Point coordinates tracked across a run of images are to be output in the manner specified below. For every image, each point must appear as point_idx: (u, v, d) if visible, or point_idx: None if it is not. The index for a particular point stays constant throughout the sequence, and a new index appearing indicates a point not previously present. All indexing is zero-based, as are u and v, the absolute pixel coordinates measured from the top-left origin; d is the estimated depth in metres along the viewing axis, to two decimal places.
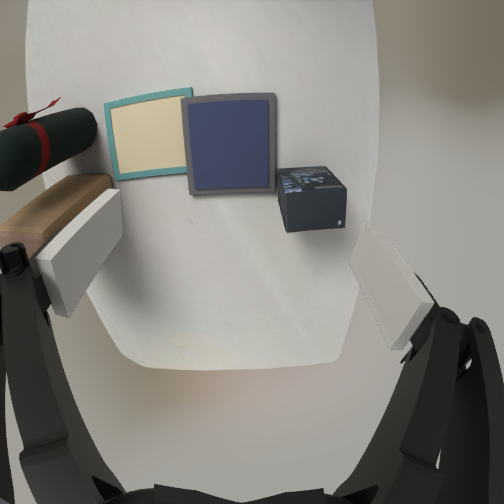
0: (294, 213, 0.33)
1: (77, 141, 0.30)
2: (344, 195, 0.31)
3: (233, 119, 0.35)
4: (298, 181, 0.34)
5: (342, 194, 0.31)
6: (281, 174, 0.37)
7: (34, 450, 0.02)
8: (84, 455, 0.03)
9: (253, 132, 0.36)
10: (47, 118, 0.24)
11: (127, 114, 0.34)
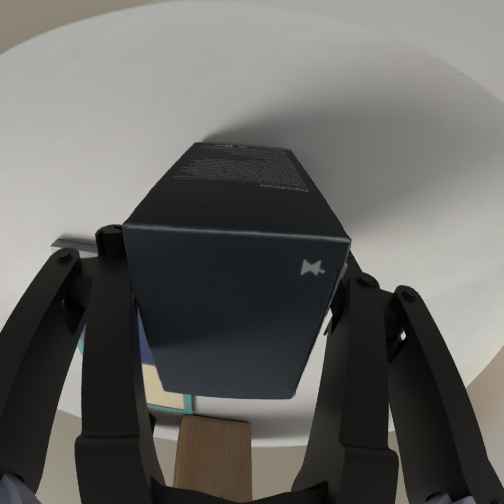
0: (228, 388, 0.09)
1: None
2: (153, 241, 0.06)
3: None
4: None
5: (149, 250, 0.06)
6: None
7: (95, 439, 0.03)
8: (147, 453, 0.04)
9: None
10: None
11: None
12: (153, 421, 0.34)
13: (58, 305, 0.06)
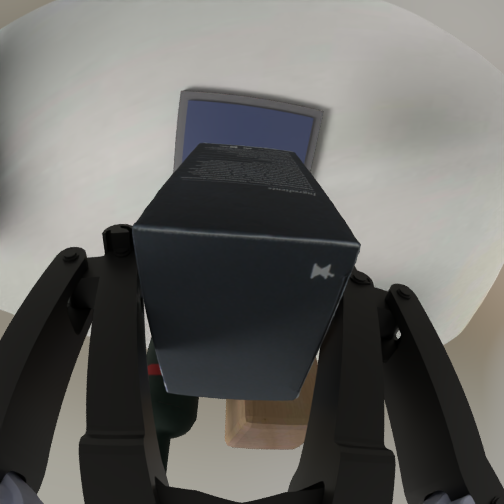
0: (233, 390, 0.09)
1: None
2: (164, 243, 0.06)
3: None
4: None
5: (160, 252, 0.06)
6: None
7: (100, 439, 0.03)
8: (151, 453, 0.04)
9: (232, 123, 0.26)
10: (148, 352, 0.31)
11: None
12: None
13: (64, 304, 0.07)
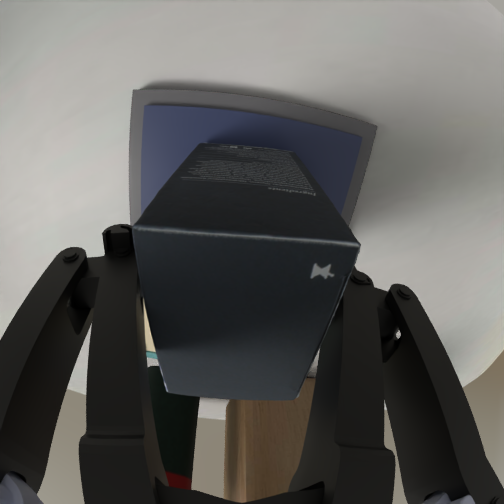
0: (233, 390, 0.09)
1: (172, 414, 0.24)
2: (164, 243, 0.06)
3: None
4: None
5: (160, 253, 0.06)
6: None
7: (100, 440, 0.03)
8: (151, 453, 0.04)
9: (221, 143, 0.15)
10: None
11: None
12: None
13: (64, 304, 0.07)
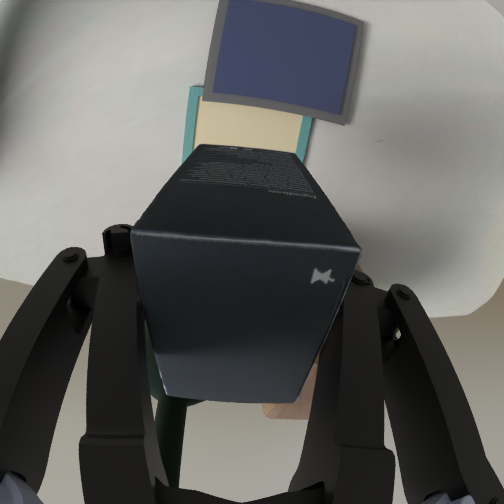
0: (233, 393, 0.09)
1: None
2: (163, 248, 0.06)
3: (250, 39, 0.20)
4: None
5: (158, 257, 0.06)
6: None
7: (100, 439, 0.03)
8: (151, 454, 0.04)
9: (275, 20, 0.19)
10: None
11: None
12: None
13: (64, 304, 0.07)
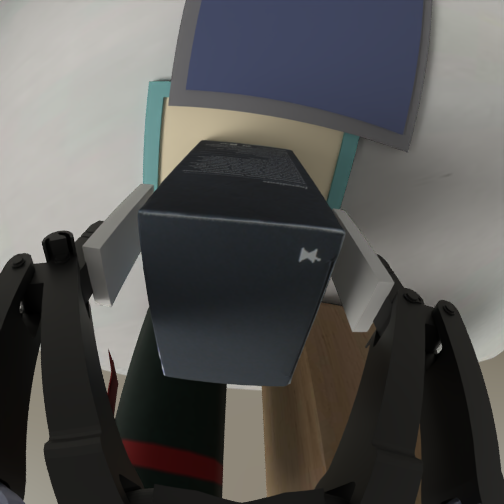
0: (227, 373, 0.10)
1: None
2: (166, 227, 0.07)
3: None
4: None
5: (162, 235, 0.07)
6: None
7: (61, 443, 0.03)
8: (113, 452, 0.04)
9: None
10: (119, 409, 0.14)
11: None
12: None
13: (17, 308, 0.06)
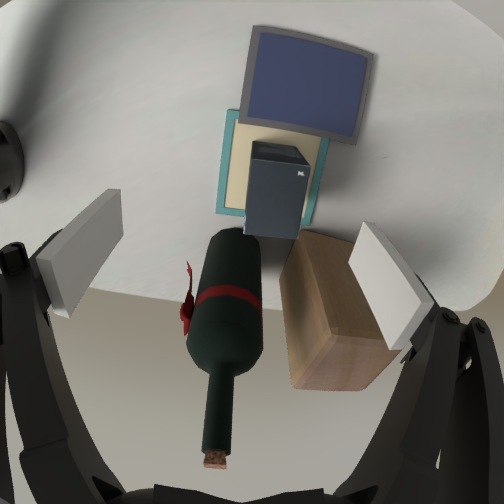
0: (272, 228, 0.27)
1: (245, 253, 0.34)
2: (260, 163, 0.23)
3: (278, 70, 0.26)
4: None
5: (258, 166, 0.23)
6: (245, 204, 0.33)
7: (34, 451, 0.02)
8: (84, 455, 0.03)
9: (299, 54, 0.25)
10: (202, 280, 0.31)
11: (238, 188, 0.35)
12: None
13: None
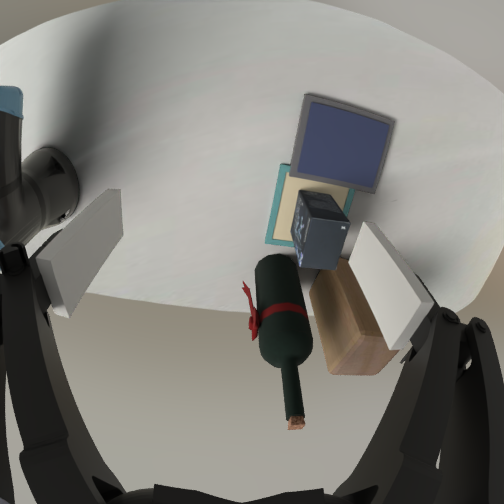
0: (320, 263, 0.37)
1: (291, 276, 0.45)
2: (317, 221, 0.34)
3: (323, 136, 0.37)
4: (298, 241, 0.39)
5: (316, 222, 0.34)
6: (293, 240, 0.43)
7: (34, 450, 0.02)
8: (84, 455, 0.03)
9: (340, 122, 0.36)
10: (263, 298, 0.41)
11: (284, 225, 0.46)
12: None
13: None
